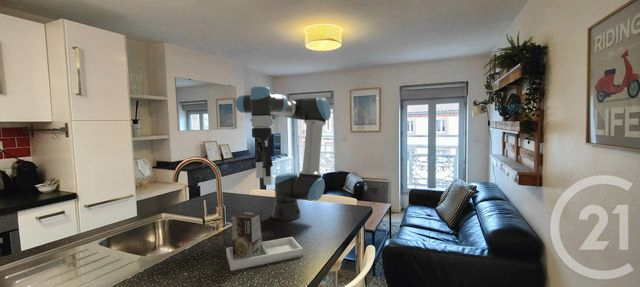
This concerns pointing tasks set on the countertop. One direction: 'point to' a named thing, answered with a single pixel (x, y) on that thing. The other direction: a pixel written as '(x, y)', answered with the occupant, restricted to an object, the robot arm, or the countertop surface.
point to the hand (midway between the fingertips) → (263, 181)
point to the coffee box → (246, 235)
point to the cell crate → (267, 253)
